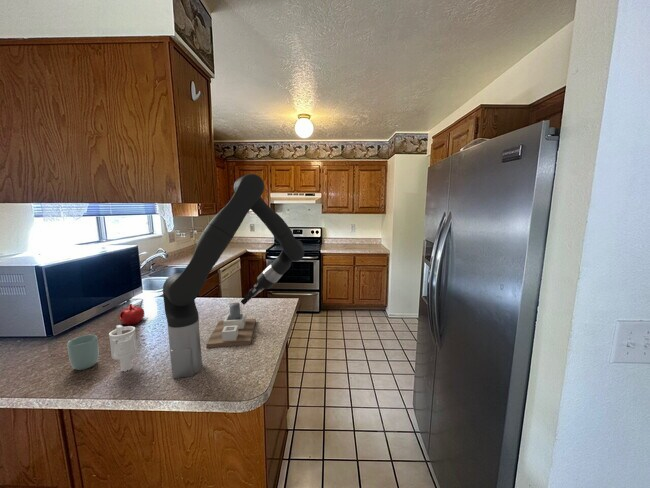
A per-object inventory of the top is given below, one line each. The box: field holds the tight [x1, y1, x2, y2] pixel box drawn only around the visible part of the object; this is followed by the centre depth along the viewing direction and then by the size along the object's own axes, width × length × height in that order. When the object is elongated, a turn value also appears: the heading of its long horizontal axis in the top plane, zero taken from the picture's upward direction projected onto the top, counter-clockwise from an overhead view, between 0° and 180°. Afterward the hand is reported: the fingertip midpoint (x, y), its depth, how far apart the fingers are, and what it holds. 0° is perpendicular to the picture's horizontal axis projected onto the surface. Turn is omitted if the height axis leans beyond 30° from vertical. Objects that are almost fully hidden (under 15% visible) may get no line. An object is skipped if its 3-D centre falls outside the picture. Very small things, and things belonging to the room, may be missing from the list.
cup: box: [66, 333, 100, 371], centre depth 93 cm, size 8×8×10 cm
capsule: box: [229, 302, 241, 320], centre depth 121 cm, size 4×4×10 cm
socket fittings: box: [222, 312, 247, 341], centre depth 117 cm, size 19×8×4 cm, turn 9°
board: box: [205, 318, 257, 349], centre depth 117 cm, size 22×17×2 cm
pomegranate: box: [118, 303, 145, 326], centre depth 129 cm, size 10×10×9 cm
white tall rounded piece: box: [108, 324, 138, 372], centre depth 91 cm, size 7×7×15 cm
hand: (246, 299), depth 119 cm, fingers open, 8 cm apart
